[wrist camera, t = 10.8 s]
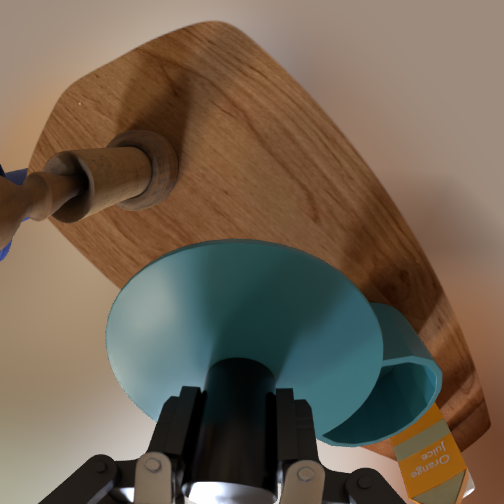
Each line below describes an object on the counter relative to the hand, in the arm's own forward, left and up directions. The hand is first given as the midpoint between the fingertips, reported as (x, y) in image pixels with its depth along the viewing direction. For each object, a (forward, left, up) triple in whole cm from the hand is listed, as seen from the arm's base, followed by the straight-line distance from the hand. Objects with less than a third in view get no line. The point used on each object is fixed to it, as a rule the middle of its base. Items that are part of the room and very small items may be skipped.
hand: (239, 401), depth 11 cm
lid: (0, 0, -2) cm, 2 cm away
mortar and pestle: (-9, +9, -15) cm, 20 cm away
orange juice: (+23, -25, -15) cm, 37 cm away
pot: (+11, -10, -15) cm, 21 cm away
